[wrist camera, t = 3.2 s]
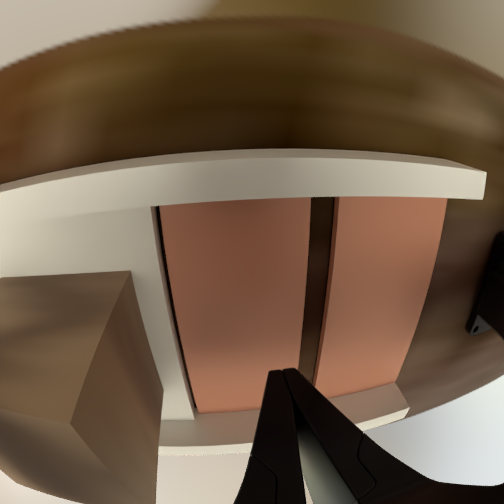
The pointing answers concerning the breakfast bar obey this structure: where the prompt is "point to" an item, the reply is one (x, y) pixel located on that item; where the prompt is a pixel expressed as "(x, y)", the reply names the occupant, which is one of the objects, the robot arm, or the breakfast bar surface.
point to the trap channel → (249, 270)
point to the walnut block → (78, 388)
